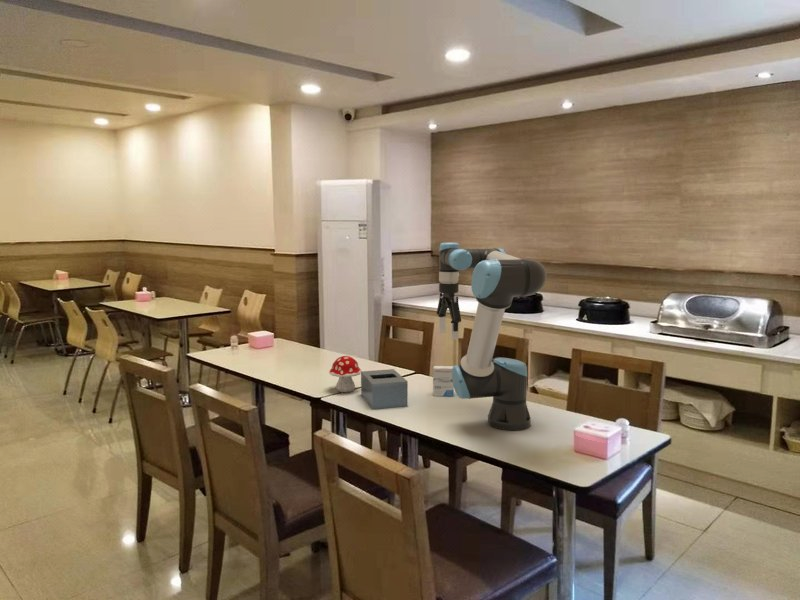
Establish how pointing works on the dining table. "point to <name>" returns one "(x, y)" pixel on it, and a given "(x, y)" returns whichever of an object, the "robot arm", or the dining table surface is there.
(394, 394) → the coin box
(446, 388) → the ink box
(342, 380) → the decorative mushroom
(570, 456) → the dining table surface
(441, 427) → the dining table surface
